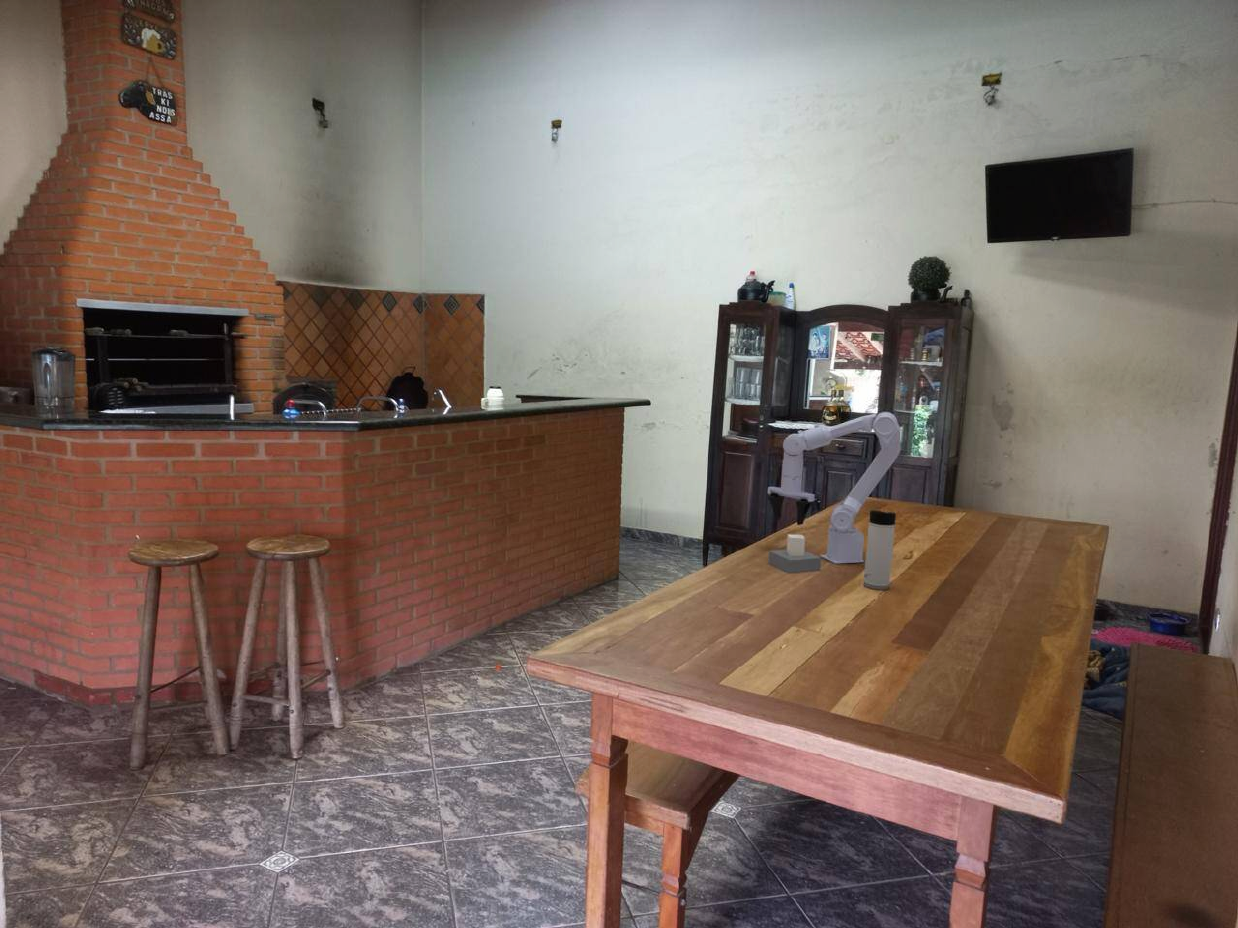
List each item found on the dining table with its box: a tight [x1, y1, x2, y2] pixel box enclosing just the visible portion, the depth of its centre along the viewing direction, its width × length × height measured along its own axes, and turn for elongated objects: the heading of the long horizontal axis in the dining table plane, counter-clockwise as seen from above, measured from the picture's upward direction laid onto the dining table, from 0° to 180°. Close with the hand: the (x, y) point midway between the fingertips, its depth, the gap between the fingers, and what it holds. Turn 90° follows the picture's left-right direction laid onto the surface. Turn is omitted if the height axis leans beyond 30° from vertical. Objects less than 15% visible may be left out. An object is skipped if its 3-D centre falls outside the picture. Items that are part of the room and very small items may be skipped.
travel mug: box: [863, 509, 897, 591], centre depth 196 cm, size 6×7×20 cm
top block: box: [786, 533, 806, 556], centre depth 212 cm, size 4×4×5 cm
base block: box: [768, 548, 822, 574], centre depth 212 cm, size 10×10×4 cm
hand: (788, 521), depth 225 cm, fingers open, 7 cm apart
